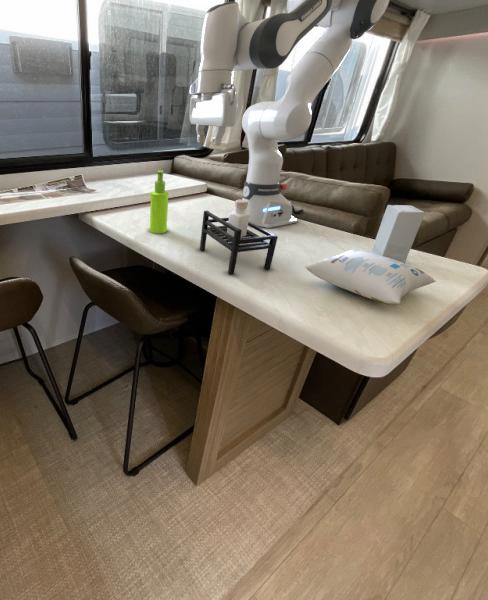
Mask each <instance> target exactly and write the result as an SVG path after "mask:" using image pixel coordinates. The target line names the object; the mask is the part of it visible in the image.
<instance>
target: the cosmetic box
mask: <svg viewBox="0 0 488 600" xmlns="http://www.w3.org/2000/svg"><path fill="white" fill-rule="evenodd" d="M425 214H426V212H425V211H423V210H421V209H419V208H417V207H415V206H414V205H407V204H406V205H405V204H402V205H401V204H387V206H386V208H385V212H384V214H383V217H382V219H381V222H380V224H379V225H380V226H379V228H378V231H377V234H376V236H375V239H374V242H373V245H372V248H371V251H370V253H373V254H377V255H380V256H384V257H387V258H390V259H393V260H397V261H400V262H402V263H405V264H406V261H407V259H408V256H409V253H410V251H411V248H412V247H413V244H414V242H415V239H416V236H417V234H418V232H419V229H420V226H421V225H422V223H423V220H424V217H425Z"/></svg>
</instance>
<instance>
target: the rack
mask: <svg viewBox="0 0 488 600" xmlns="http://www.w3.org/2000/svg"><path fill="white" fill-rule="evenodd" d="M228 221H229V217H219V216H217V215H216V214H213V212H210V211H209V210H203V215H202V222H201V223H202V225H201V232H200V233H201V234H200V243H199V251H200V252H205V251H206V245H207V244H206V243H207V236H209V237H210V238H212V239H213V240H215V241H216V242H217V243H218V244H221V246H223V247H225V248H226V249H227V250H229V251H230V256H229V262H228V269H227V274H228V275H229V276H233V275H235V270H236V265H237V260H238V254H239V253H245V252H252V251H253V252H254V251H261V250H267V251H266V256H265V260H264V263H263V269H264V270H265V271H269V270H271V266H272V263H273V259H274V253H275V250H276V246H277V242H278V239H279V238H278V237H279V236H278V235H276V234H274V233H272V232H270V231H268V230H266V229H264V228H263V227H261V226H256V225H254V224H253V223H251V222H248V227H250V228H252V229H254V230H256V231H258V232H260V233H261V234H263V235H262V236H260V235H258V234H257V233H256V232H253V231H252V230H250V229H248V228H247V233H246V236H243V237H241V232H242V230H241V229H238V228H236V227H234V226H233V225H231V224H229V223H228ZM214 223H219V224H221V225H215V224H214ZM227 228H229V229H231V230H233V231H234V237H233V236H231V235H230V234H228V233H227Z"/></svg>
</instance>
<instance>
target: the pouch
mask: <svg viewBox="0 0 488 600" xmlns="http://www.w3.org/2000/svg"><path fill="white" fill-rule="evenodd" d="M304 268H305V270H307V271H308V272H309V273H311V274H312V275H313V276H315V277H317V278H318V279H320V280H323V281H325V282H327V283H329V284H331V285H334V286H336V287H338V288H341V289H342V290H346V291H348V292H350V293H352V294H353V293H354V294H356V295H359V296H361V297H364V298H367V299H369V300H372V301H375V302H376V301H377V302H379V303H383V304H386V305H387V304H388V305H397V304H401V298H403V297H404V296H405V295H406V294H409V293H412V292H413V291H415V290H417V289H420V288H423V287H425V286H428V285H431V284H433V283H436V282H437V280H435V278H433V277H432V276H431V275H430V274H428V273H426V272H425V271H423V270H421V269H419V268H417V267H415V266H413V265H409V264H407V263H406V262H405V263H402V262H400V261H397V260H393V259H390V258H387V257H384V256H380V255H377V254H373V253H371V252H369V251H363V250H355V249H350V250H346V251H343V252H341V253H339V254H336V255H333V256H329V257H327V258H324V259H321V260H319V261H315V262H314V263H311V264H309V265H307V266H304Z"/></svg>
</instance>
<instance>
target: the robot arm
mask: <svg viewBox="0 0 488 600" xmlns="http://www.w3.org/2000/svg"><path fill="white" fill-rule="evenodd" d="M390 2H391V0H287V1H286V12H281V13H276V14H274V15H271V16H268V17H267V18H263V19H259V20H256V21H250V20H248V19H247V18H246V17H245V16H244V14H243V13H242V12H241V9H240V4H239V2H237V1H226V2H223V3H220V4H216V5H213V6H212V7H210V8H208V10H207V11H206V13H205V15H204V19H203V23H202V29H201V36H200V45H199V46H200V48H199V55H200V63H199V67H198V72H197V78H196V79H195V80H194V82H192V84H191V85H190V86H189V95H190V100H189V116H188V117H189V122H190V124H191V125H195V131H196V135H197V136H196V138H197V139H196V142H197V143H201V144H202V143H205V141H206V135H205V129H206V126H210V127H215V136H214V137H213V138H212V146H215V147H218V146H221V145H222V141H223V137H224V135H225V133H226V129H227V128H232V127H234V126H235V124H236V121H237V115H238V114H237V113H238V94H237V89H236V88H235V85H234V83H233V81H234V79H233V78H234V72H241V71H252V70H260V69H262V70H263V69H264V70H265V69H266V70H268V69H269V70H272V69H276V68H278V67H280V66H282V64H284V62H285V61H286V60H287V58H288V57H289V56H290V55H291V53H292V51H293V50H294V49H295V47H296V45H298V44H299V42H300V41H301V40H302V39H303V38H304V37H305V36H306V35H307V34H309V33H310V32H311V31H312V30H313V29H314V28H315V27H316V28H318V27H320V28H323V29H324V30H323V32H322V34H321V36H320V37H319V38H317V40H316V41H315V42H314V43H313V44H312V45H311V46H310V47H309V49H308V50H307V51H306V52H305V53H304V55H303V56H302V57H301V59H300V60H299V61H298V62H297V64H296V65H295V66H294V68H293V69H291V71H290V72H289V73H288V75H287V77H286V79H285V82H284V87H285V92H284V94H283V95H282V97H280V98H279V99H278V100H271V101H270V100H269V101H265V100H264V101H259V102H257V103H254V104H251V105H250V106H249V107H247V109H246V110H245V111H244V114H243V115H242V118H241V128H242V130H243V132H244V133H245V136H246V138H247V143H248V144H247V145H248V166H247V172H246V179H245V180H244V183H243V187H242V188H243V189H242V198H241V199H242V200H247V201H248V206H247V210H246V213H248V214H249V215H250V216H249V222H251V223H253V224H254V225H256V226H258V227H260V228H267V229H271V228H276V227H281V226H285V225H291V224H295V223H297V222H298V219H297V218H296V217H295V216H293V214H299V213H303V212H304V209H303V208H301V209H299V210H296V209H295V206H294V205H293V204H292V203H291V201H289V200H288V199H287V197H285V196H284V195H283V194H282V191H287V190H288V188H289V186H288V184H287V183H280V178H281V173H282V169H283V165H284V157H283V155H282V153H281V152H280V151H279V145H278V141H290V140H291V141H292V140H295V139H296V140H297V139H299V138H301V137H302V136H303V135H305V133H306V132H307V131H308V130H309V127H310V125H311V123H312V116H313V115H312V113H313V112H312V109H311V106H312V104H313V102H314V101H315V98H316V97H317V96H318V95H319V94H320V92H321V90H322V89H323V88H324V87H325V85H326V84H327V83H328V82H329V80H330V79H331V78H332V77H333V76H334V74H335V73H336V72H337V71H338V69H339V67H340V66H341V64H342V63H343V62H344V60H345V58H346V57H347V55H348V53H349V52H350V50H351V48H352V43H353V40H358V39H360V38H361V37H362V36H363V35H365V34H366V32H368V31H370V30H371V29H372V28H373V27H374V26H376V25H377V24H378V22H379V21H380V20H381V19H382V18H383V16H384V14H385V13H386V11H387V9H388V7H389V4H390ZM281 190H282V191H281Z"/></svg>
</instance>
